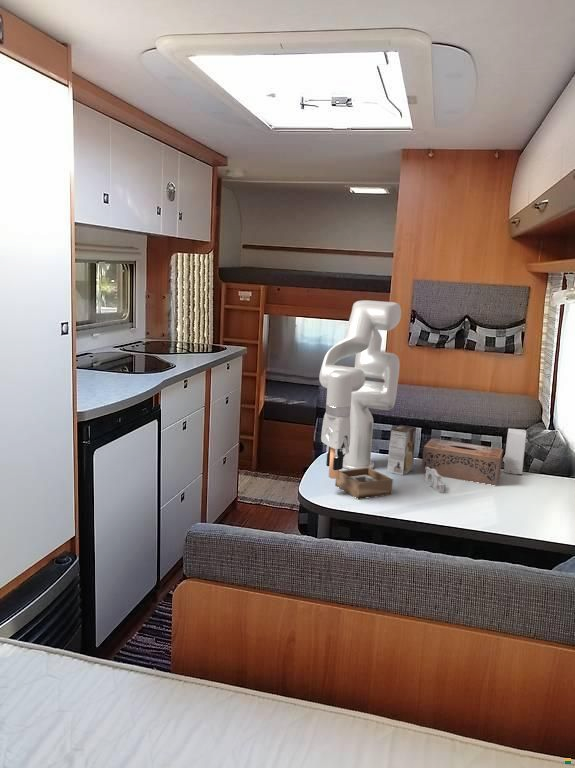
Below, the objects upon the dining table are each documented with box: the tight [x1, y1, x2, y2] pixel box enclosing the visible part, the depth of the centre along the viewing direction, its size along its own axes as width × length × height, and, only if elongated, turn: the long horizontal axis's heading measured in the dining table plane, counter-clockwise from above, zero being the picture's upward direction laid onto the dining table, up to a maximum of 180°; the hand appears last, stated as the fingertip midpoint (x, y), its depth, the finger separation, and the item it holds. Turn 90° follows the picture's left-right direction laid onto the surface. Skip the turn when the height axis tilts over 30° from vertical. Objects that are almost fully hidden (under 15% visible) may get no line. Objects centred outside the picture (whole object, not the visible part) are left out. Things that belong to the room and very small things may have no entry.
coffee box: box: [387, 424, 417, 476], centre depth 220 cm, size 9×6×16 cm
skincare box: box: [503, 428, 527, 475], centre depth 228 cm, size 8×7×16 cm
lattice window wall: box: [424, 467, 445, 494], centre depth 205 cm, size 12×2×6 cm, turn 13°
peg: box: [328, 447, 341, 480], centre depth 192 cm, size 3×3×12 cm
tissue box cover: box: [421, 437, 504, 486], centre depth 221 cm, size 26×14×10 cm, turn 66°
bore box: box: [334, 467, 394, 500], centre depth 198 cm, size 13×13×5 cm
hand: (334, 467), depth 192 cm, fingers closed on peg, 3 cm apart
